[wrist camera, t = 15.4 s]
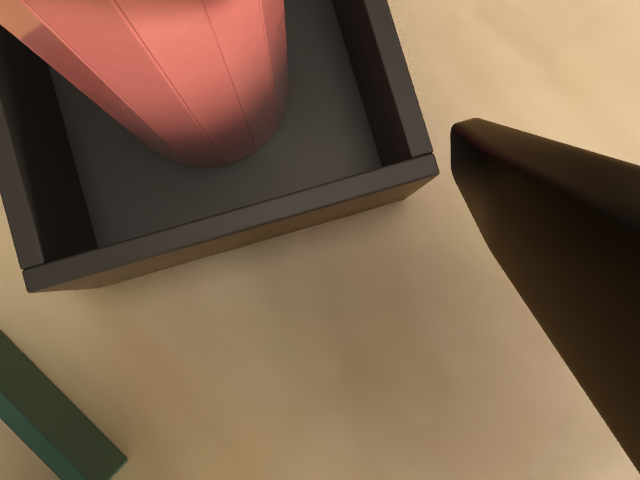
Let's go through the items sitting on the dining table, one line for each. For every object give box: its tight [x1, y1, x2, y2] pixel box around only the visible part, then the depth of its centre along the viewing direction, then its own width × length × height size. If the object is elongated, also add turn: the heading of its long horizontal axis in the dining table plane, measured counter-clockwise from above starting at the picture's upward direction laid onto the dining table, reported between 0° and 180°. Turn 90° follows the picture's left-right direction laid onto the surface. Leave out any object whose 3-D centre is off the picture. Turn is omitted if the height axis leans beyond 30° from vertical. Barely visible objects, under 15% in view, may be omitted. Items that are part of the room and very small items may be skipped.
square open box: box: [0, 0, 439, 293], centre depth 18 cm, size 12×12×5 cm
